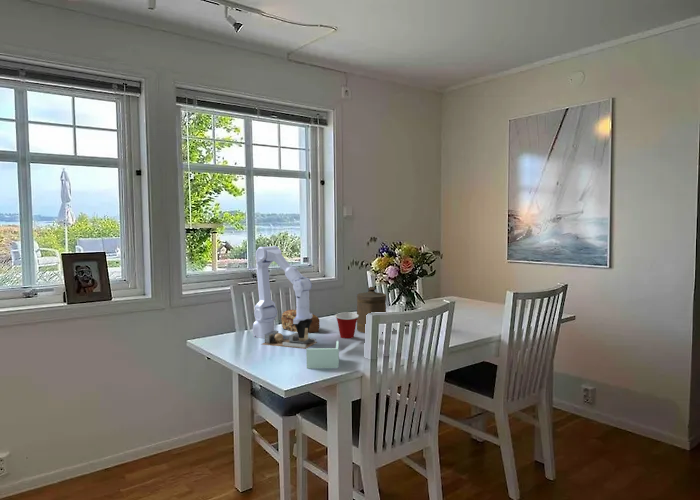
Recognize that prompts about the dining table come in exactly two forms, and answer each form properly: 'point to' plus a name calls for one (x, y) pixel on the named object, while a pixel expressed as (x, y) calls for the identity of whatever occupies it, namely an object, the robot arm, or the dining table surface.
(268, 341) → the press base
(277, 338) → the tan ball
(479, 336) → the dining table surface
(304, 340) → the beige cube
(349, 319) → the plastic cup
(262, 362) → the dining table surface
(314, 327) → the bread
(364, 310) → the wooden container
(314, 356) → the right angle wall
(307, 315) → the robot arm
